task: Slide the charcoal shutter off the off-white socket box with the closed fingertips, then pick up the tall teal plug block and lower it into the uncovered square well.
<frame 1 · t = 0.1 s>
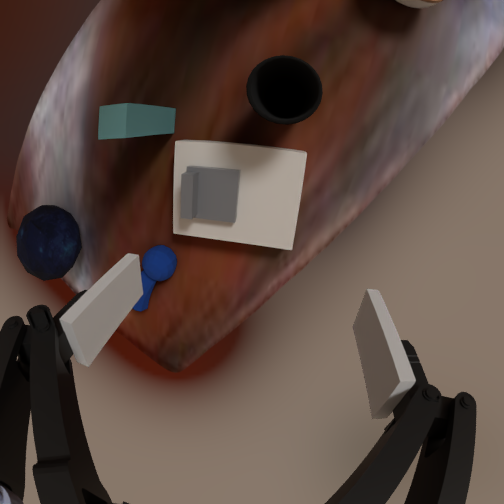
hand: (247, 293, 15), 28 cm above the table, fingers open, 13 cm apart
toy: (152, 272, 50), on the table
socket box: (219, 186, 41), on the table
cup: (285, 101, 35), on the table
plug: (163, 121, 37), on the table
decorative orb: (69, 228, 48), on the table
shutter: (209, 195, 36), point 6 cm above the table, slide at 0.0 cm
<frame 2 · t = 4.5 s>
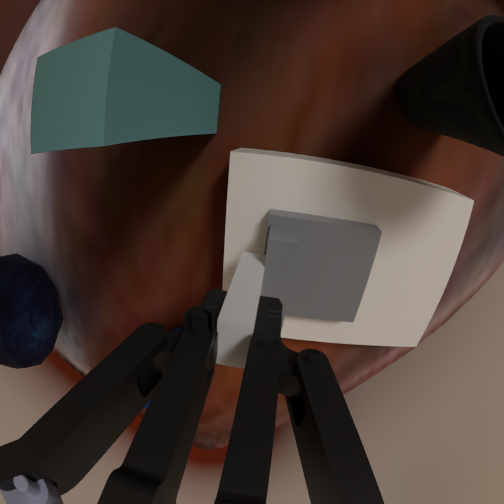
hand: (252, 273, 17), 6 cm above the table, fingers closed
socket box: (306, 242, 22), on the table
cup: (425, 98, 16), on the table
plug: (193, 108, 19), on the table
decorative orb: (44, 284, 30), on the table
shutter: (317, 279, 17), point 6 cm above the table, slide at 0.4 cm, touching gripper
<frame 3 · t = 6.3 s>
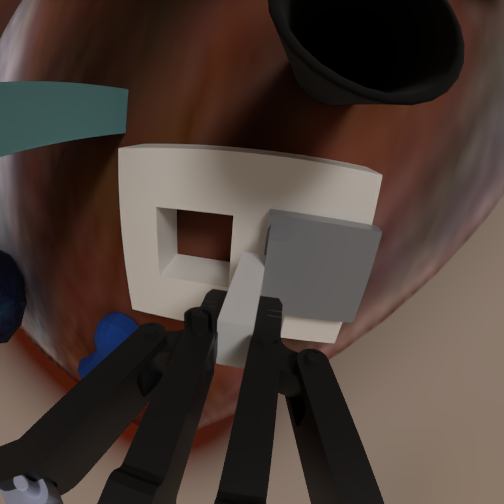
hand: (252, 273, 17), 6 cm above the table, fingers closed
toy: (116, 344, 32), on the table
socket box: (207, 228, 23), on the table
cup: (330, 72, 16), on the table
plug: (109, 112, 19), on the table
decorative orb: (15, 272, 30), on the table
shutter: (317, 279, 17), point 6 cm above the table, slide at 8.7 cm, touching gripper
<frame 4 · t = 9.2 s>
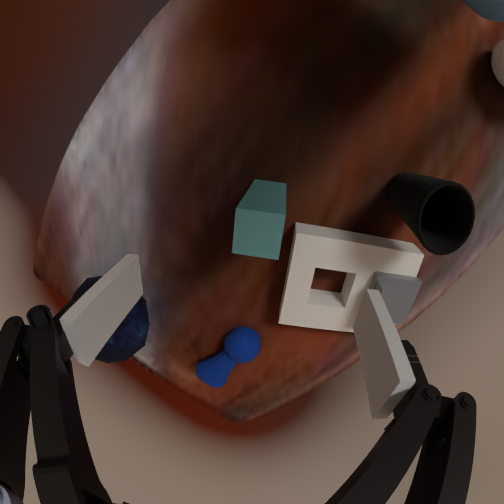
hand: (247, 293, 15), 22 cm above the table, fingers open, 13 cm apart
toy: (229, 349, 48), on the table
socket box: (327, 274, 39), on the table
lidded jar: (502, 71, 20), on the table
cup: (404, 191, 32), on the table
plug: (268, 196, 35), on the table
decorative orb: (127, 296, 46), on the table
shutter: (393, 304, 33), point 6 cm above the table, slide at 8.9 cm
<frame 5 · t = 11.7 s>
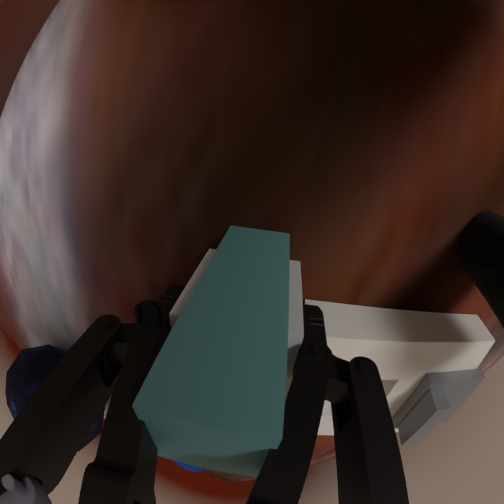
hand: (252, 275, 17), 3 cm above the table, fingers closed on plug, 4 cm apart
socket box: (350, 366, 23), on the table
cup: (481, 242, 16), on the table
plug: (256, 256, 19), on the table, touching gripper
decorative orb: (78, 364, 30), on the table
shutter: (441, 410, 17), point 6 cm above the table, slide at 8.9 cm
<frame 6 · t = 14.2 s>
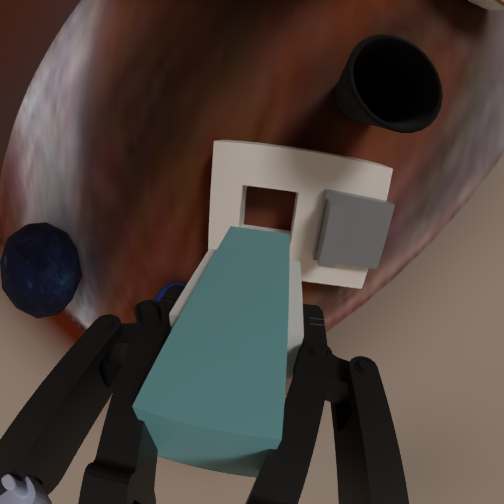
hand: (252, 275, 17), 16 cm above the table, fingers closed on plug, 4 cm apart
socket box: (269, 205, 31), on the table
cup: (358, 98, 25), on the table
plug: (256, 256, 19), point 13 cm above the table, touching gripper
decorative orb: (66, 250, 39), on the table
shutter: (355, 234, 25), point 6 cm above the table, slide at 8.9 cm
when the fingers open (5 cm above the table, at t = 16.8 s): plug drops 2 cm, resting in socket box.
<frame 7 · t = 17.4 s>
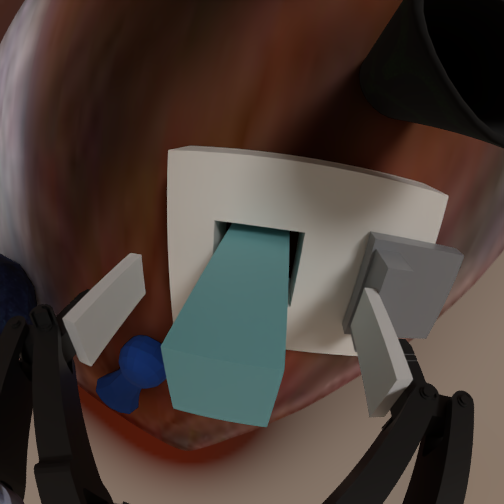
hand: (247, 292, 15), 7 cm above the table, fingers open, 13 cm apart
toy: (138, 364, 31), on the table
socket box: (260, 242, 21), on the table
cup: (393, 84, 15), on the table
plug: (260, 242, 21), resting in socket box
decorative orb: (24, 282, 29), on the table
shutter: (409, 301, 15), point 6 cm above the table, slide at 10.4 cm
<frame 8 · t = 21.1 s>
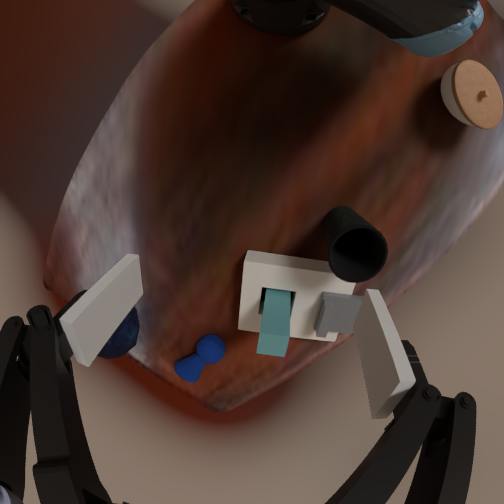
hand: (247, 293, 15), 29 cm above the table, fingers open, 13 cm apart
toy: (202, 351, 58), on the table
socket box: (277, 290, 48), on the table
lidded jar: (454, 96, 29), on the table
cup: (341, 222, 42), on the table
plug: (277, 290, 48), resting in socket box
decorative orb: (122, 305, 56), on the table
shutter: (339, 318, 42), point 6 cm above the table, slide at 10.6 cm
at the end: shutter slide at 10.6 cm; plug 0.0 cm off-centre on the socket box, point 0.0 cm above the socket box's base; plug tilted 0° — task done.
